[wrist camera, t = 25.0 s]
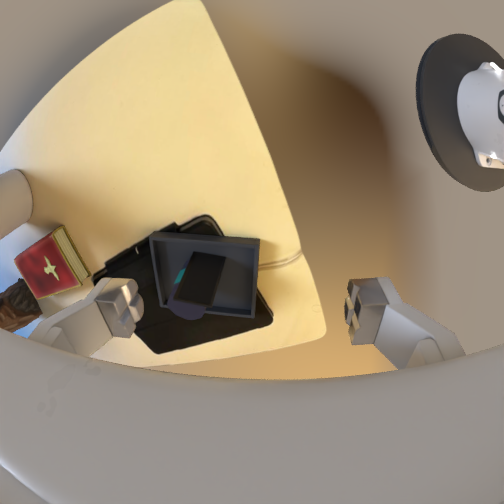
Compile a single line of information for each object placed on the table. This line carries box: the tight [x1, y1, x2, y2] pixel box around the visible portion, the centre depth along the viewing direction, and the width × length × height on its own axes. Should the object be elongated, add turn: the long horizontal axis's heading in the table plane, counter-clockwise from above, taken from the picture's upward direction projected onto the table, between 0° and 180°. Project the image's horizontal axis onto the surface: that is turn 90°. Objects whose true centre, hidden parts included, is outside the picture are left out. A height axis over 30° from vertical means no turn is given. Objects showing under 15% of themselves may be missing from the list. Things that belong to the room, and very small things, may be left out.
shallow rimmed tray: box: [149, 231, 260, 318], centre depth 44 cm, size 17×14×2 cm
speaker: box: [167, 251, 226, 320], centre depth 40 cm, size 8×6×10 cm
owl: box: [0, 278, 43, 333], centre depth 46 cm, size 13×13×20 cm
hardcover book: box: [14, 226, 91, 300], centre depth 46 cm, size 12×21×4 cm, turn 110°
